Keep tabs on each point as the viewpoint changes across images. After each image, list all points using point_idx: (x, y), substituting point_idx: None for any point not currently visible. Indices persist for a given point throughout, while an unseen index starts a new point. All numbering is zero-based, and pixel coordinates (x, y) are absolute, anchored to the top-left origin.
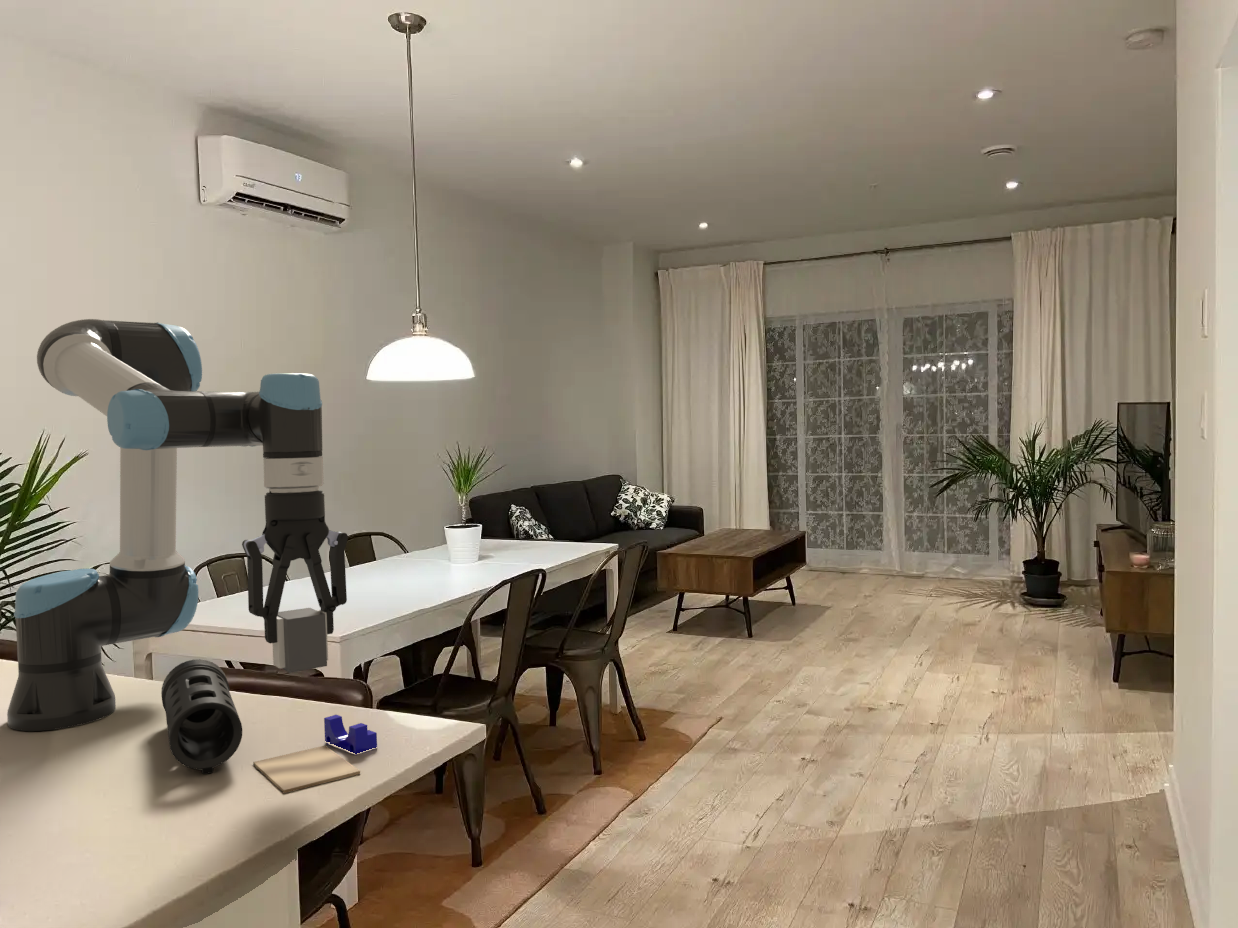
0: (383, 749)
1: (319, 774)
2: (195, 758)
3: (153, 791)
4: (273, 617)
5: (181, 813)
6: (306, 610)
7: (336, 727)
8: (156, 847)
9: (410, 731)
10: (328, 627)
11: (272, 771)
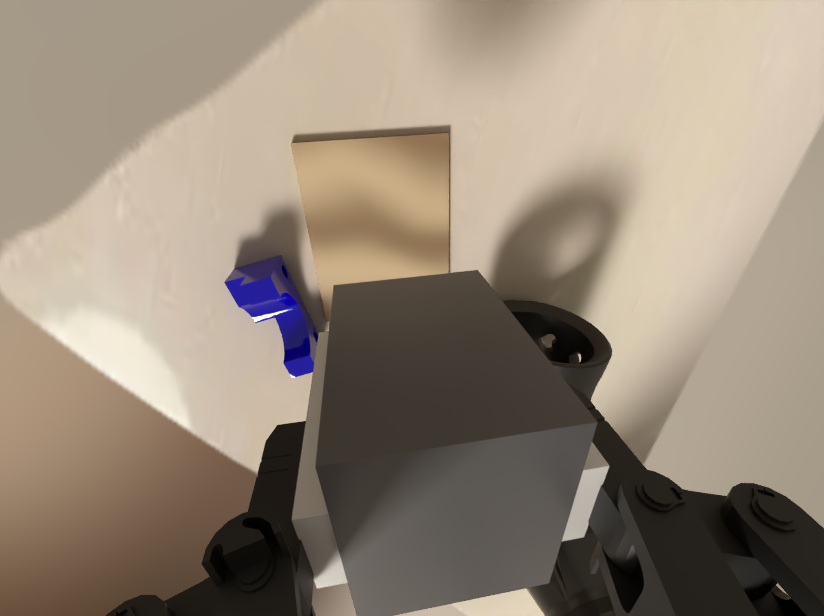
0: (222, 255)
1: (369, 177)
2: (537, 321)
3: (592, 276)
4: (640, 479)
5: (604, 153)
6: (395, 580)
7: (299, 344)
8: (698, 6)
9: (154, 323)
10: (291, 449)
11: (436, 245)
